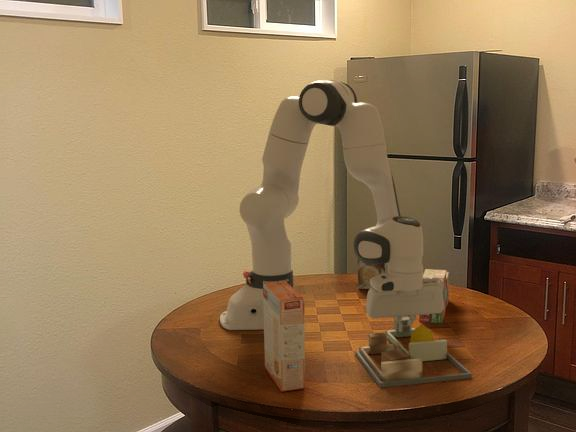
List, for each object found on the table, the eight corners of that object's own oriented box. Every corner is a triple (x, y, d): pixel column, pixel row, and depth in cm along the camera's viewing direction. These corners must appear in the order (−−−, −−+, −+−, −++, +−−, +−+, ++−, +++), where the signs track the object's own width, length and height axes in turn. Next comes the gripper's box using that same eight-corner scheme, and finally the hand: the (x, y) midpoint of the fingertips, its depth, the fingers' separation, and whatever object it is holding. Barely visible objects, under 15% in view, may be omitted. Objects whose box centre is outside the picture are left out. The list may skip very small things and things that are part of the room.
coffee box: (385, 284, 214) (385, 237, 211) (385, 289, 208) (385, 242, 205) (358, 283, 215) (358, 237, 213) (357, 289, 209) (357, 241, 206)
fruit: (437, 358, 152) (437, 326, 151) (415, 360, 151) (416, 329, 150) (427, 350, 157) (428, 319, 156) (406, 352, 156) (407, 321, 155)
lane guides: (380, 387, 138) (380, 383, 137) (355, 354, 156) (355, 350, 155) (471, 377, 141) (471, 373, 141) (437, 346, 159) (437, 343, 159)
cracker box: (307, 389, 138) (305, 296, 134) (280, 393, 136) (278, 300, 132) (288, 364, 151) (286, 279, 147) (264, 367, 149) (261, 282, 145)
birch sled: (382, 383, 139) (382, 363, 138) (358, 352, 157) (358, 334, 156) (422, 379, 141) (422, 359, 140) (393, 348, 158) (394, 331, 157)
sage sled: (410, 362, 150) (410, 344, 149) (384, 335, 167) (385, 319, 166) (446, 358, 151) (447, 341, 151) (417, 332, 169) (418, 316, 168)
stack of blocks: (428, 299, 198) (428, 261, 195) (448, 300, 196) (449, 262, 193) (419, 322, 178) (419, 279, 176) (441, 324, 176) (442, 281, 173)
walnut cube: (390, 378, 142) (391, 359, 141) (381, 371, 146) (381, 352, 145) (408, 375, 144) (408, 356, 143) (398, 367, 148) (398, 349, 147)
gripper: (438, 273, 167) (437, 323, 170) (364, 279, 164) (364, 330, 166) (448, 280, 161) (447, 332, 164) (371, 286, 158) (371, 338, 160)
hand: (404, 331), depth 165 cm, fingers closed, pressing on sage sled
